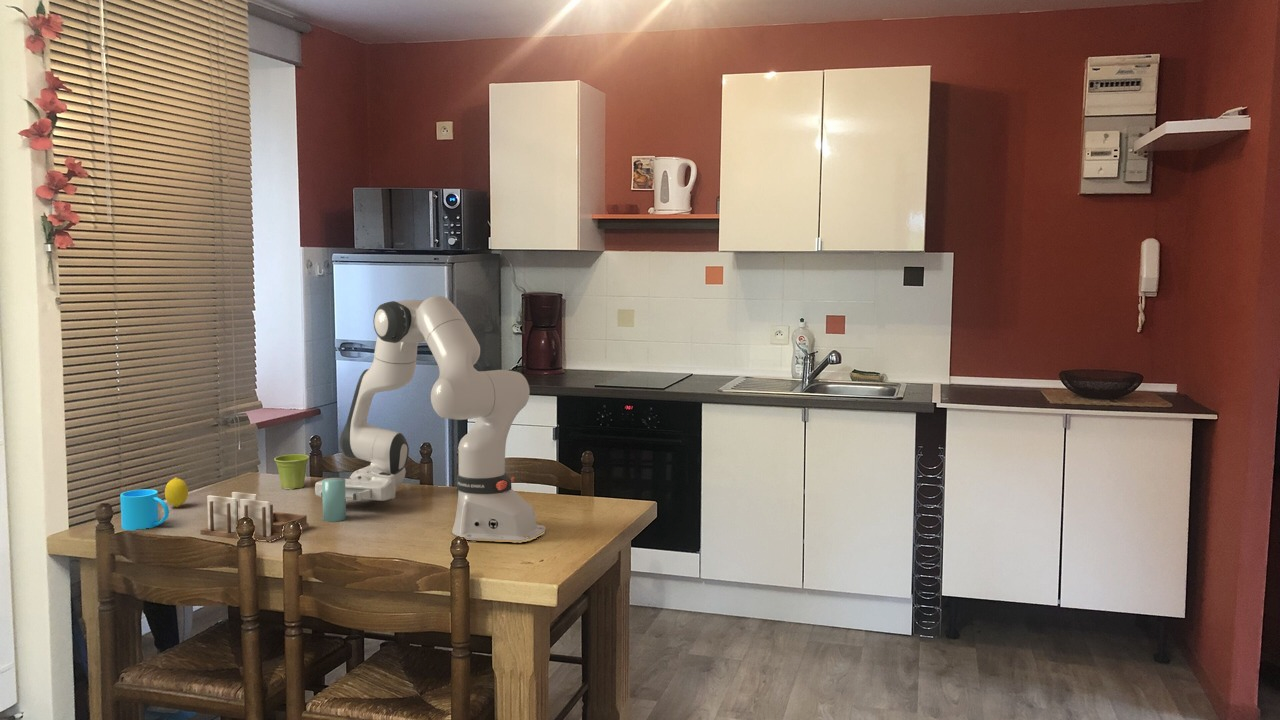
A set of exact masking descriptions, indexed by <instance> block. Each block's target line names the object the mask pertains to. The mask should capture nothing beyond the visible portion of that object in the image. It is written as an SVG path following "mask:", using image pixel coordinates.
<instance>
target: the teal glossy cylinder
mask: <svg viewBox="0 0 1280 720" xmlns="http://www.w3.org/2000/svg"><path fill="white" fill-rule="evenodd" d="M345 479H346V478H343V477H329V478H328V477H327V478H323V479H322V480H321V481H322V498H321V499H322V521H323V520H324V522H326V521H328V522H327V523H335V521H338V522H343V521H345V520H346V519H347V506H346V505H347V502H346V501H347V498H346V489H345ZM342 520H343V521H342Z"/></svg>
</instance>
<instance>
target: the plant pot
mask: <svg viewBox="0 0 1280 720" xmlns="http://www.w3.org/2000/svg"><path fill="white" fill-rule="evenodd" d="M309 459H310V456H309V455H307V454H300V453H299V454H298V453H297V454H284V455H279V456H276V457H274V461H275V464H276V466H277V471H278V475H279V480H280V481H279V482H280V487H281V488H282V489H283V488H290V489H291V490H294V489H302V488H303V487H305V480H306V471H307V464H308V460H309ZM290 489H289V490H290Z"/></svg>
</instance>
